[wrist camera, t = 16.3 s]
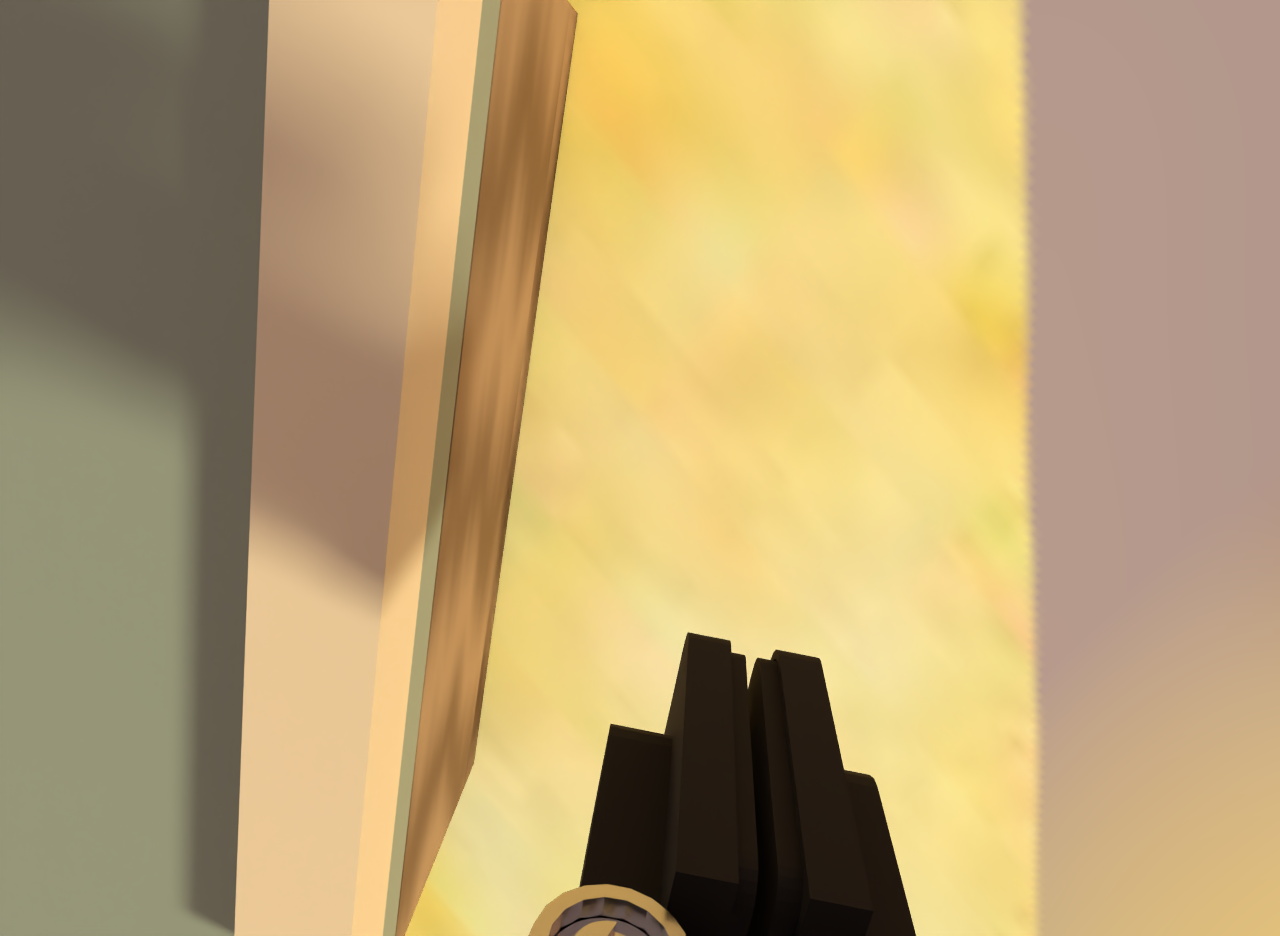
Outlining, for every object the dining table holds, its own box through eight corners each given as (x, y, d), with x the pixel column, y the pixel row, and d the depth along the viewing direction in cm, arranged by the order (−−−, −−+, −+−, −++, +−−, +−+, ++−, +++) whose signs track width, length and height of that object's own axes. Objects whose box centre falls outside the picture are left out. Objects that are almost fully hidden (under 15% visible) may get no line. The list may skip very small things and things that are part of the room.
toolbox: (473, 762, 26) (392, 963, 19) (8, 670, 26) (-231, 839, 19) (577, 13, 20) (510, -72, 13) (-39, -101, 20) (-418, -242, 13)
